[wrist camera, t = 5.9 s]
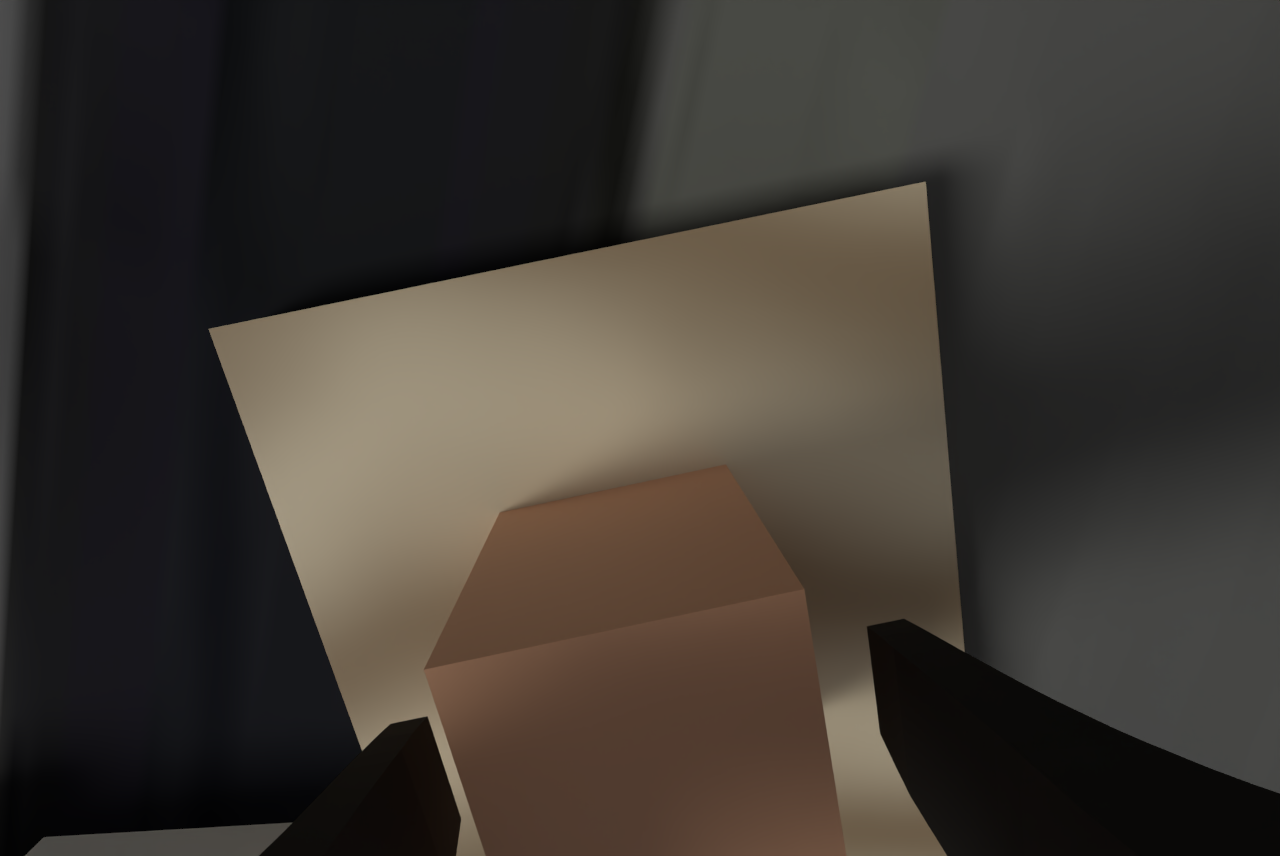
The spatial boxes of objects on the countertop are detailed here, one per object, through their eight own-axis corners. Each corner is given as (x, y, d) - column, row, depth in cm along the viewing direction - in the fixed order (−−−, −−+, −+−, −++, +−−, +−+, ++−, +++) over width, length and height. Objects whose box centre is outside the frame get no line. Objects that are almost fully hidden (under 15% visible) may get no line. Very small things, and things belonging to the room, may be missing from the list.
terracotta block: (773, 723, 13) (865, 974, 9) (570, 765, 13) (546, 1041, 9) (725, 463, 12) (804, 588, 7) (499, 512, 12) (423, 669, 7)
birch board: (947, 798, 16) (980, 849, 14) (454, 898, 16) (438, 960, 14) (888, 193, 12) (925, 181, 11) (255, 323, 12) (208, 328, 11)
